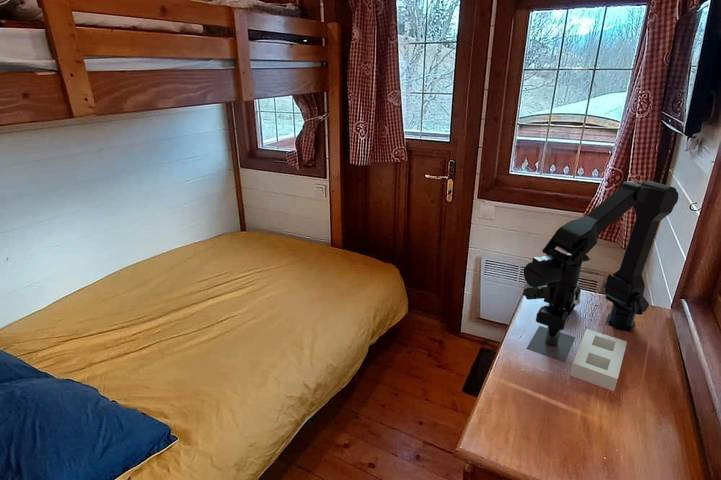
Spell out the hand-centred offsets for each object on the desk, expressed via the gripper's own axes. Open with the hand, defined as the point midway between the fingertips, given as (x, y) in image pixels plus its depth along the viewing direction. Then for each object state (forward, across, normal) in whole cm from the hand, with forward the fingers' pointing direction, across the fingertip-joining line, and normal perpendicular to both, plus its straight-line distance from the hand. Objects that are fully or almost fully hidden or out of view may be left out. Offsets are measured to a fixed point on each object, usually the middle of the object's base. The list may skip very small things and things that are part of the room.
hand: (553, 332), depth 109 cm
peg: (+3, 0, 0) cm, 3 cm away
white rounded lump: (+4, -19, -2) cm, 19 cm away
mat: (+4, 0, 0) cm, 4 cm away
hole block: (+4, +2, +11) cm, 12 cm away
